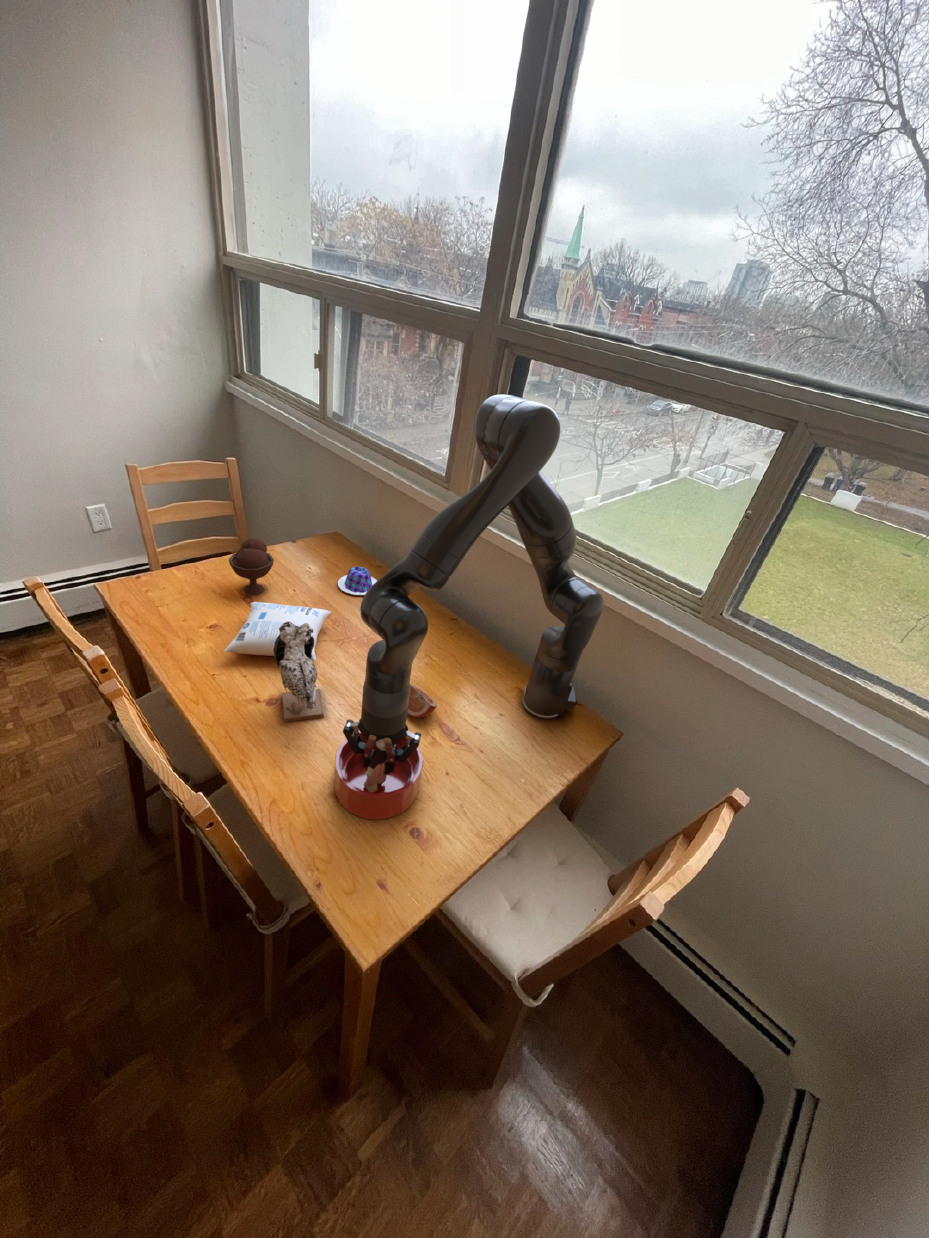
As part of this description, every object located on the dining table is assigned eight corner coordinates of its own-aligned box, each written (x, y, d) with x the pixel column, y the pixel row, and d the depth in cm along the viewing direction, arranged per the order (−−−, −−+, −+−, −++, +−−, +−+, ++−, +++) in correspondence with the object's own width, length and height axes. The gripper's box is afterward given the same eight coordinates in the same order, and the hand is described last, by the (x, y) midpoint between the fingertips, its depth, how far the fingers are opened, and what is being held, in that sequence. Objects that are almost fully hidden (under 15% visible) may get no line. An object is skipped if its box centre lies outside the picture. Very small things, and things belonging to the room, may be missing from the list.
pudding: (387, 586, 152) (388, 571, 149) (360, 601, 143) (361, 586, 140) (356, 571, 157) (357, 556, 154) (328, 585, 148) (329, 569, 145)
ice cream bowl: (232, 580, 142) (227, 531, 134) (275, 579, 146) (272, 532, 137) (230, 601, 134) (224, 550, 126) (275, 599, 138) (272, 550, 129)
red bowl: (424, 759, 101) (428, 735, 97) (410, 828, 88) (414, 803, 84) (348, 745, 101) (349, 720, 97) (322, 812, 88) (322, 786, 84)
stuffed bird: (304, 671, 116) (303, 608, 107) (346, 726, 104) (349, 662, 95) (260, 685, 110) (255, 620, 101) (300, 746, 99) (298, 679, 89)
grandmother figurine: (378, 800, 90) (390, 753, 83) (358, 793, 90) (368, 746, 83) (390, 766, 97) (403, 721, 90) (371, 760, 97) (382, 714, 90)
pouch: (221, 635, 110) (315, 642, 112) (249, 592, 126) (331, 598, 128) (225, 664, 114) (316, 670, 116) (252, 618, 130) (331, 625, 132)
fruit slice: (394, 703, 112) (396, 687, 109) (419, 693, 116) (421, 676, 113) (416, 727, 107) (419, 710, 105) (441, 716, 111) (444, 699, 109)
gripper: (336, 707, 79) (334, 778, 89) (424, 723, 79) (413, 793, 89) (349, 676, 85) (346, 746, 95) (431, 692, 86) (420, 760, 95)
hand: (379, 768), depth 92 cm, fingers closed on grandmother figurine, 3 cm apart
